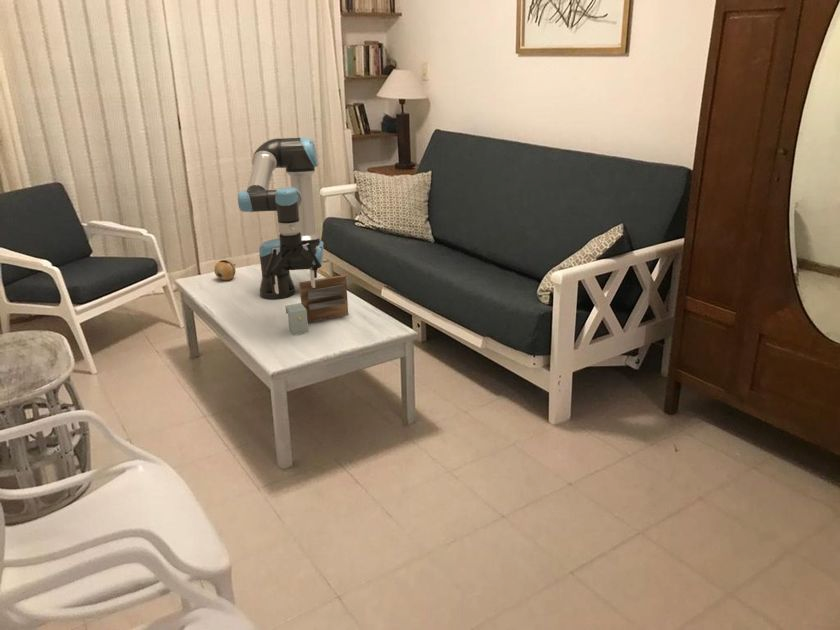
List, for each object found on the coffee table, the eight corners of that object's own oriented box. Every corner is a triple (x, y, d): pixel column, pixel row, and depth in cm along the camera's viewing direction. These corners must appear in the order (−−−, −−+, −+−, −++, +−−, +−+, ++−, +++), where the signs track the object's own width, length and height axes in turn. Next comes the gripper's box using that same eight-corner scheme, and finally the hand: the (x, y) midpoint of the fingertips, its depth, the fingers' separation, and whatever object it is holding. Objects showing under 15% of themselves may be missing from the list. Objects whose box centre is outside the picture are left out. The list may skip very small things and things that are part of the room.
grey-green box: (287, 327, 260) (285, 305, 256) (302, 325, 262) (300, 303, 258) (293, 336, 252) (291, 313, 249) (309, 333, 254) (307, 310, 251)
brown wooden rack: (300, 318, 268) (296, 279, 262) (344, 310, 275) (341, 272, 269) (306, 325, 261) (302, 285, 255) (351, 317, 268) (348, 278, 262)
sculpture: (206, 267, 306) (224, 250, 318) (209, 283, 312) (227, 266, 323) (224, 271, 304) (242, 254, 315) (227, 288, 310) (244, 271, 321)
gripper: (256, 240, 234) (263, 298, 242) (326, 230, 244) (331, 287, 252) (252, 235, 241) (258, 292, 248) (320, 226, 250) (325, 281, 258)
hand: (295, 289), depth 250 cm, fingers open, 13 cm apart
